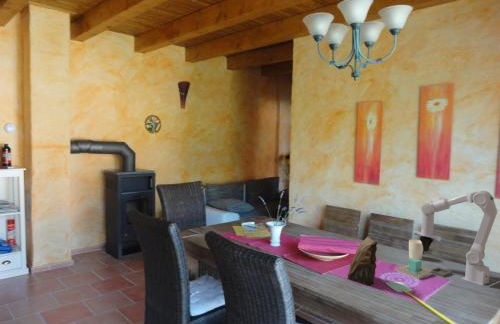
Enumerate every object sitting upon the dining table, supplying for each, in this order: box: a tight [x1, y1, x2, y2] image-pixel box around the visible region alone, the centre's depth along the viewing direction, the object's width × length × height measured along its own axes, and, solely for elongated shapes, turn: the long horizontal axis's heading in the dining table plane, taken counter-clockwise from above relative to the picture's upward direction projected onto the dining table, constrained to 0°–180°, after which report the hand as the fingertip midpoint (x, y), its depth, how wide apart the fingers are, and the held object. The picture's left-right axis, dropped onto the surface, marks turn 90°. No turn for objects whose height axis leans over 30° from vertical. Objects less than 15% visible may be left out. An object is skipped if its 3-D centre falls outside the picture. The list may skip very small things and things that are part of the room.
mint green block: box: [407, 258, 422, 272], centre depth 184 cm, size 4×5×7 cm
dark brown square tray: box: [430, 267, 455, 279], centre depth 185 cm, size 9×9×2 cm
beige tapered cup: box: [408, 239, 424, 260], centre depth 208 cm, size 8×8×10 cm
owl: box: [346, 235, 378, 287], centre depth 172 cm, size 13×13×20 cm
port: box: [396, 263, 433, 280], centre depth 184 cm, size 12×12×3 cm
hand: (425, 251), depth 192 cm, fingers closed
